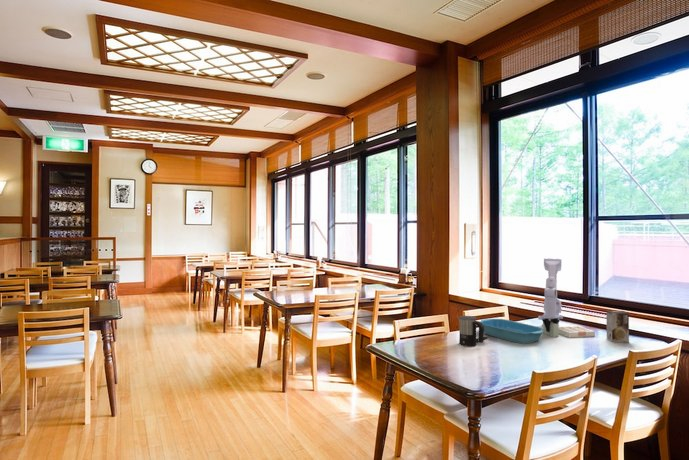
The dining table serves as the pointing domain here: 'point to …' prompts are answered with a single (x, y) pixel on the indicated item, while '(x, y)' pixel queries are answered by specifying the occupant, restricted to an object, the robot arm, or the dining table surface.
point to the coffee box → (618, 326)
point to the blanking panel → (551, 330)
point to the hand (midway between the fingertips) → (550, 331)
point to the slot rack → (575, 331)
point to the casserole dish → (511, 330)
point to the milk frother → (470, 331)
